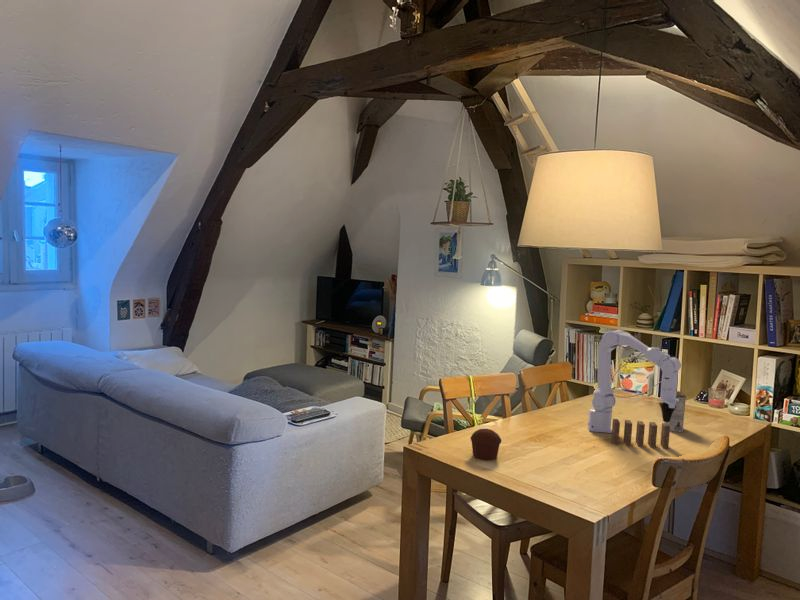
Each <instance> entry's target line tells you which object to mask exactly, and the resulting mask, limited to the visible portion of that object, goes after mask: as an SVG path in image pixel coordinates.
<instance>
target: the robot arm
mask: <svg viewBox="0 0 800 600" xmlns="http://www.w3.org/2000/svg"><path fill="white" fill-rule="evenodd" d="M619 346H629V347H631V348H632V349H634V350H636V351H638V352H639V353H641V354H643V355H644V357H645V359H646V360H647V361H648V362H650V363H652V364H654V365H655V366H657V367H659V368H660V370H661V372H662V374H661V385H660V397H659V401H660V402H659V403H658V404H659V407H660V410H661V417H662V421H663V423H664V422H670V419H671V416H672V413H673V411H674V410H675V408H676V406H675V403H676V402H679V400H678V399H676V391H677V387H678V378H679V377H678V376H679V371H680V369H681V367H682V363H681V361H680V360H679V359H678V358H677V357H675V356H672V357H671V355H670V354H667V353H665V352H663V351H661V349H660V348H659V347H656V346H651V347H649V346H648V345H646V344H644V343H643V342H642V341H641V340H639V339H637V338H636V337H634V336H633V335H632V334H630V333H629V332H628V331H625V330H623V329H617V330H608V331H606V332H605V333H604V334H602V335H601V339H600V341H599V343H598V345H597V388H596V389H595V391H594V392H593V394H594V395H593V397H592V400H591V404H592V408H590V409H589V411H588V418H587V419H588V420H587V428H588V430H589V432H596V433H604V434H605V433H607V434H608V433H609V434H612V420H613V419H612V418H613V416H612V415H613V407H614V406H616V397H615V394H614V390H613V389H612V376H611V375H612V372H611V371H612V351H613V350H615V349H616V348H617V347H619Z"/></svg>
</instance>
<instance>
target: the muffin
mask: <svg viewBox="0 0 800 600" xmlns="http://www.w3.org/2000/svg"><path fill="white" fill-rule="evenodd" d="M470 441H471V446H472V447H471V448H472V449H471V450H472V456H473V457H474V458H475V459H477V460H481V461H495V460H497V458H498V454H499V450H500V445H501V443H502V438H501V437H500V435H499V434H498V433H497V432H495V431H494V430H492V429H489V428H479V429H477V430H475V431H474V432H473V433H472V434H471V436H470Z"/></svg>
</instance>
